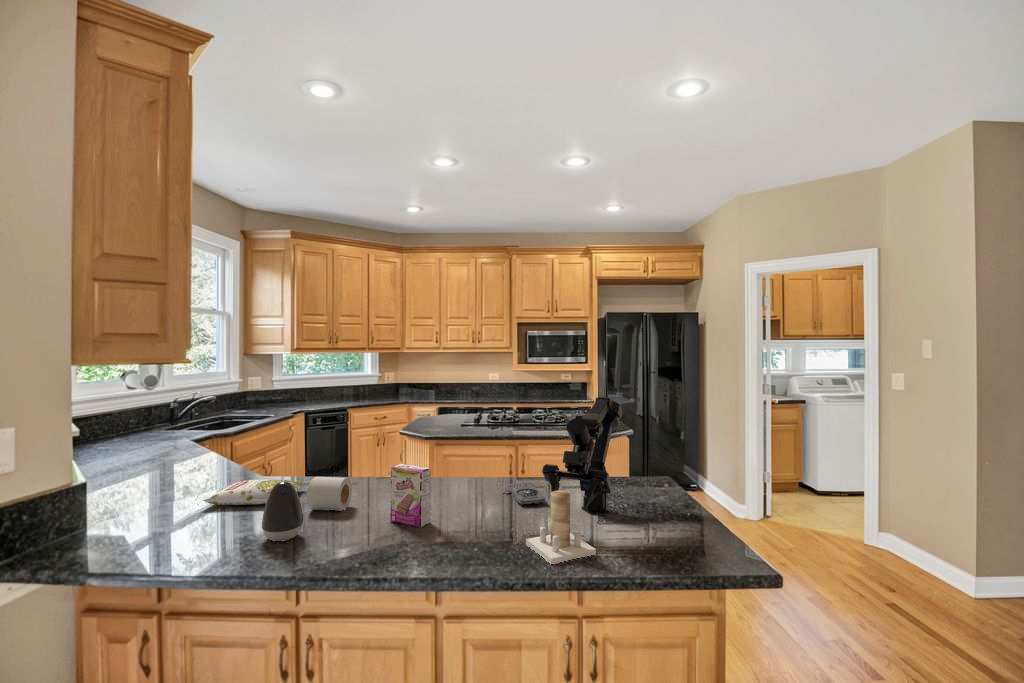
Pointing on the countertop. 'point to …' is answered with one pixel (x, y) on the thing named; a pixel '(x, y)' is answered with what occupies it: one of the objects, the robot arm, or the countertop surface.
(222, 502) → the frozen beans
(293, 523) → the aroma diffuser
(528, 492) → the graphics card
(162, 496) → the countertop surface
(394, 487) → the candy bar box
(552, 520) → the maple post
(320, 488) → the toilet paper
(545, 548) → the pin plate
